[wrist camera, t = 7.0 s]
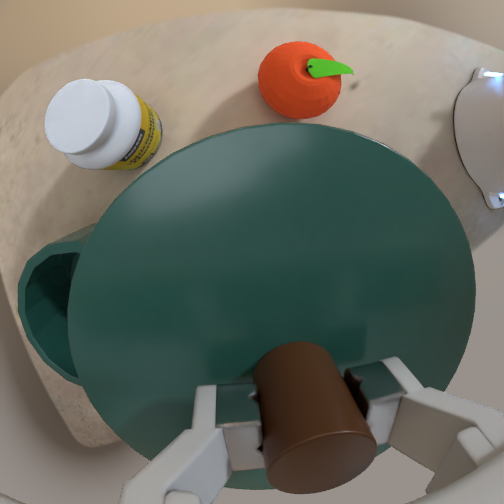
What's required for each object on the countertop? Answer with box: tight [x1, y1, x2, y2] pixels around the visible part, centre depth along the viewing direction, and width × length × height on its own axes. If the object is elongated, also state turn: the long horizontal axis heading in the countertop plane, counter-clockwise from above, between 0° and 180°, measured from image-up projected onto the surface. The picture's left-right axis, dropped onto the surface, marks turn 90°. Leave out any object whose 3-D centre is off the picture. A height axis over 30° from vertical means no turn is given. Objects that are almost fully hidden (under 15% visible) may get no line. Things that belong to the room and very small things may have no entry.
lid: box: [68, 122, 476, 494], centre depth 7 cm, size 14×14×5 cm
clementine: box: [258, 42, 353, 119], centre depth 22 cm, size 8×7×7 cm
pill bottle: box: [45, 79, 162, 170], centre depth 20 cm, size 6×6×12 cm
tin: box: [18, 223, 97, 386], centre depth 24 cm, size 13×13×10 cm
